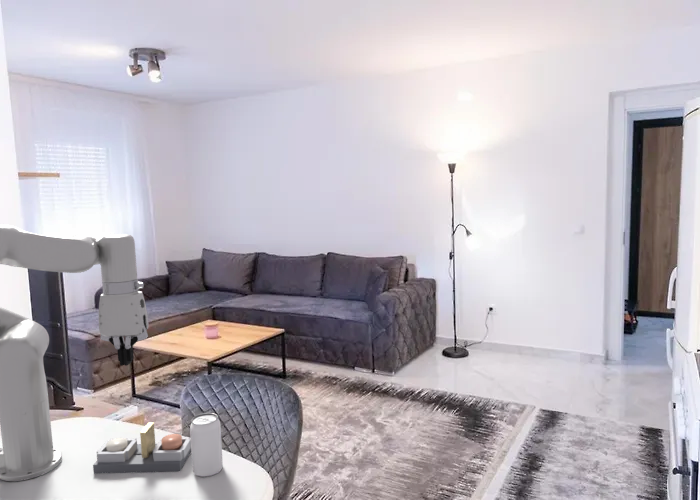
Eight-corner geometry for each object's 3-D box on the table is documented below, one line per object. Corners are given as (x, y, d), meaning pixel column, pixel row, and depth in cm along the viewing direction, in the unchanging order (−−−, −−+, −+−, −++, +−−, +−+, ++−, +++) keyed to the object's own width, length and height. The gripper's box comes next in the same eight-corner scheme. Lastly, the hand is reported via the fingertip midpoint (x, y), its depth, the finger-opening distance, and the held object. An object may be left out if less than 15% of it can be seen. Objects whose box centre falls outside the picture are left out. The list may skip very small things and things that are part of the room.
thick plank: (142, 457, 118) (140, 432, 117) (150, 446, 122) (148, 422, 122) (147, 457, 118) (145, 432, 117) (155, 446, 122) (153, 422, 122)
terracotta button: (159, 451, 118) (158, 443, 117) (165, 442, 122) (165, 434, 122) (178, 451, 118) (178, 443, 117) (184, 441, 122) (184, 433, 122)
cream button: (103, 455, 118) (102, 447, 117) (112, 446, 122) (111, 438, 122) (123, 455, 118) (122, 447, 117) (131, 445, 122) (130, 437, 122)
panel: (93, 473, 116) (92, 456, 115) (111, 452, 125) (110, 436, 124) (182, 471, 116) (181, 454, 115) (194, 450, 125) (193, 434, 124)
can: (214, 479, 113) (211, 426, 111) (187, 476, 114) (183, 424, 112) (227, 463, 119) (225, 413, 117) (201, 461, 120) (198, 411, 119)
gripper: (158, 283, 126) (163, 357, 128) (96, 285, 126) (102, 359, 128) (146, 290, 118) (151, 368, 121) (80, 291, 118) (86, 369, 121)
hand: (126, 363), depth 124 cm, fingers closed
